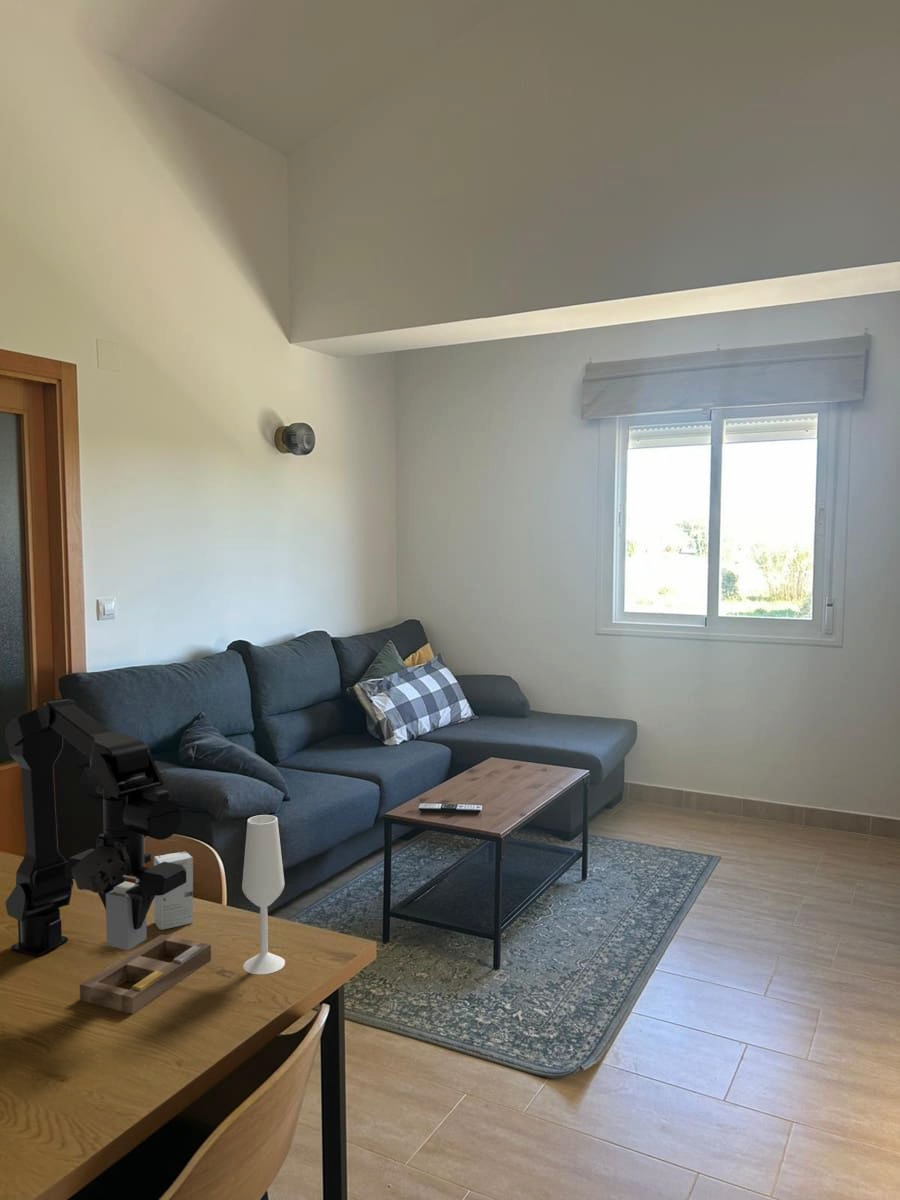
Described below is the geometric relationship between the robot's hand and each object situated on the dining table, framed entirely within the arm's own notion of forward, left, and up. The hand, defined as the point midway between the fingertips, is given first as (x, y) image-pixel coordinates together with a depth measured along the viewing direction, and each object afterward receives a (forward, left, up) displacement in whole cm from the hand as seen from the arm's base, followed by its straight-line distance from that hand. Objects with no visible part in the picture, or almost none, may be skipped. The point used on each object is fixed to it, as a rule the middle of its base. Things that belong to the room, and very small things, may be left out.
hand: (126, 926), depth 133 cm
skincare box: (-10, +22, -11) cm, 27 cm away
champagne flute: (+14, +15, -11) cm, 23 cm away
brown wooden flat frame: (0, +4, -10) cm, 11 cm away
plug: (0, 0, -3) cm, 3 cm away
